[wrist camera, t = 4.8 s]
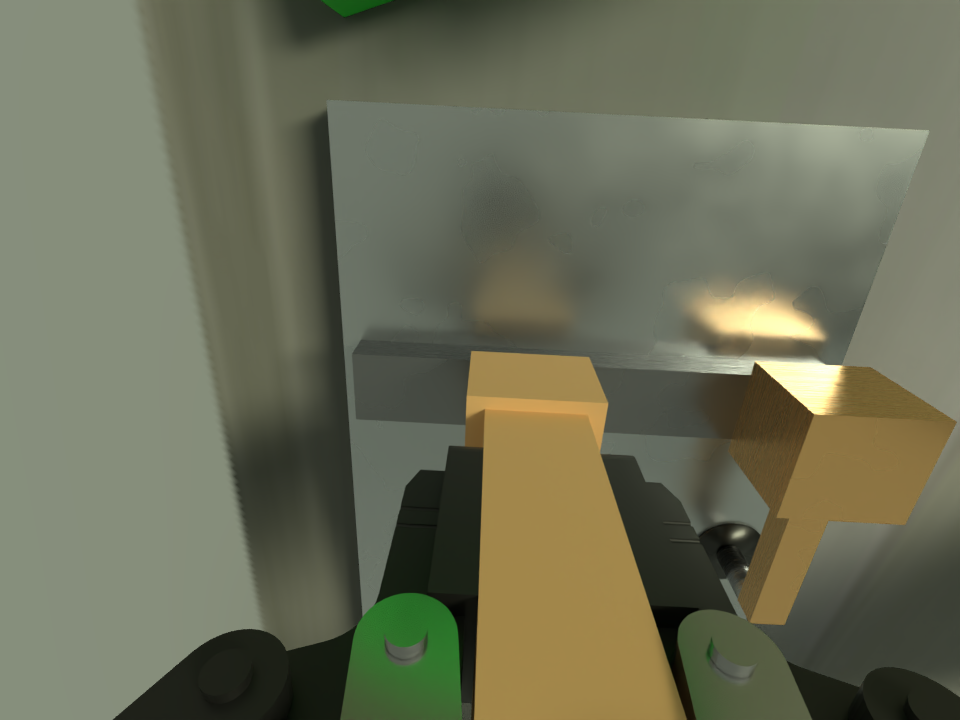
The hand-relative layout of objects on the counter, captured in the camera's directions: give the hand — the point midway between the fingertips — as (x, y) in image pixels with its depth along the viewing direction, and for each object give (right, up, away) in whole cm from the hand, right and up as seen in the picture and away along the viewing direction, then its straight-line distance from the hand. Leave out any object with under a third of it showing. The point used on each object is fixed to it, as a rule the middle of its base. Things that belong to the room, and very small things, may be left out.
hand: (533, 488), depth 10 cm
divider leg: (0, 0, +5) cm, 5 cm away
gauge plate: (+2, 0, +7) cm, 7 cm away
